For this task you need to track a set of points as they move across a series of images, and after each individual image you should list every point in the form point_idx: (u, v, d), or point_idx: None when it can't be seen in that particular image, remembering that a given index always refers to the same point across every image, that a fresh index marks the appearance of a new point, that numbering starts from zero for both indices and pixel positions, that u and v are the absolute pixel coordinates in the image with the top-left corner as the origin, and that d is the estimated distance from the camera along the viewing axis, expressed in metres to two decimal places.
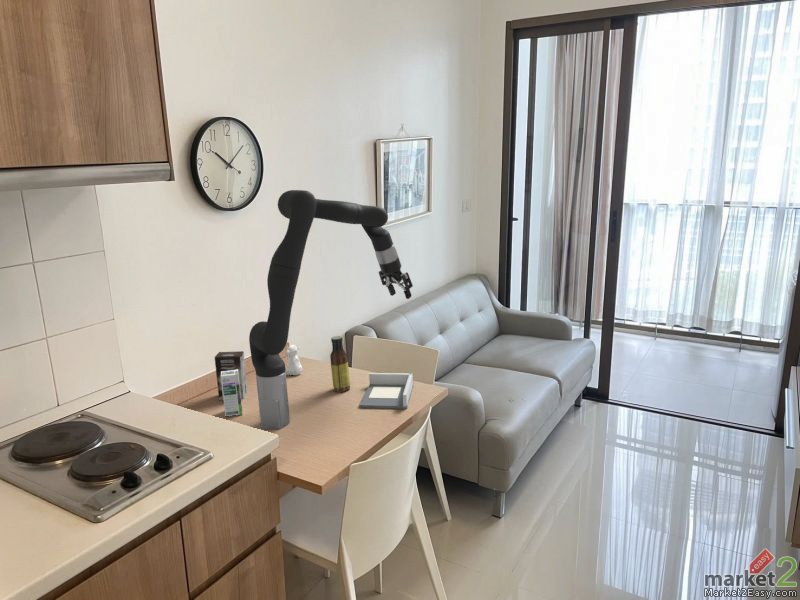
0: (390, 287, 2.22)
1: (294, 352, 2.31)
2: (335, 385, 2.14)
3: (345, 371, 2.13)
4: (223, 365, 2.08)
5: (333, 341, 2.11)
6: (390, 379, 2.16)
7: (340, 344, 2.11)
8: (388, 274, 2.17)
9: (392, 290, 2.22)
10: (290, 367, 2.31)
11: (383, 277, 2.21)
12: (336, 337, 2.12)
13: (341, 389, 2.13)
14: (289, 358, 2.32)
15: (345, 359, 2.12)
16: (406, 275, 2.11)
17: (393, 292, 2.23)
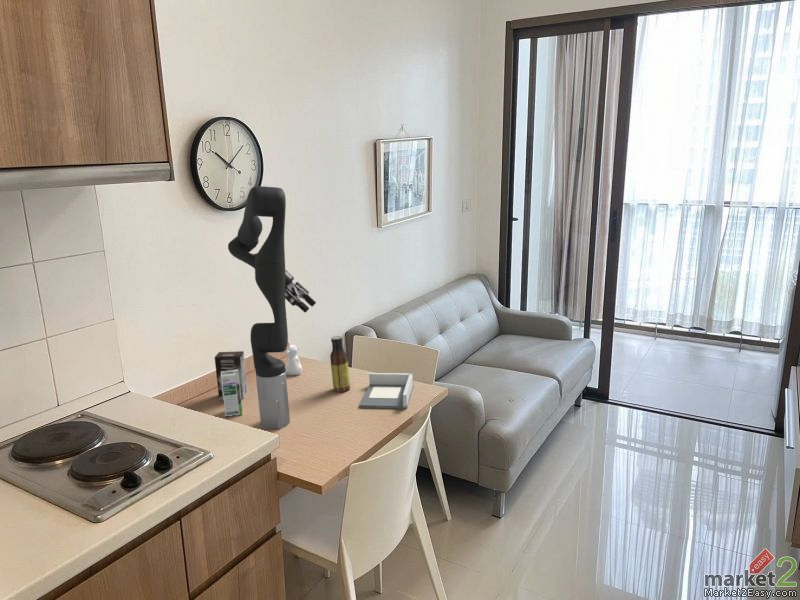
0: None
1: (294, 352, 2.31)
2: (335, 385, 2.14)
3: (345, 371, 2.13)
4: (223, 365, 2.08)
5: (333, 341, 2.11)
6: (390, 379, 2.16)
7: (340, 344, 2.11)
8: (291, 287, 2.09)
9: None
10: (290, 367, 2.31)
11: None
12: (336, 337, 2.12)
13: (341, 389, 2.13)
14: (289, 358, 2.32)
15: (345, 359, 2.12)
16: None
17: None
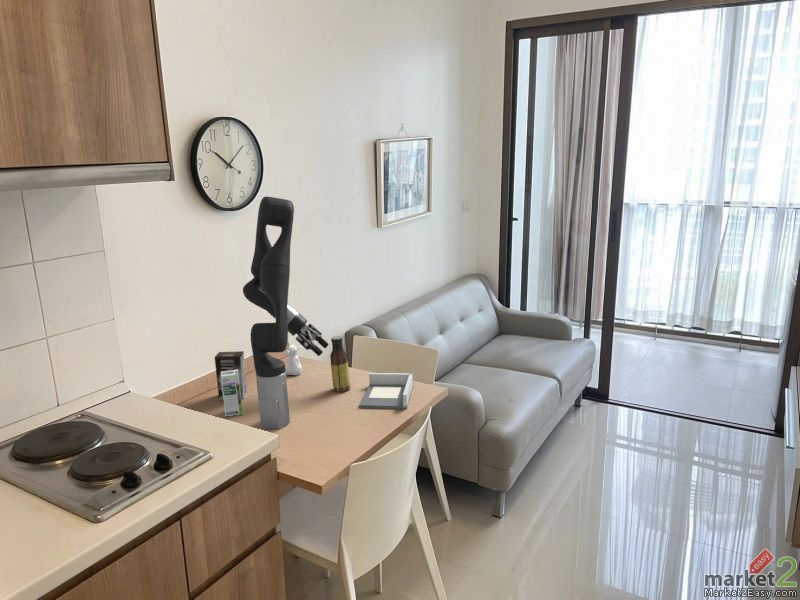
0: None
1: (294, 352, 2.31)
2: (335, 385, 2.14)
3: (345, 371, 2.13)
4: (223, 365, 2.08)
5: (333, 341, 2.11)
6: (390, 379, 2.16)
7: (340, 344, 2.11)
8: (304, 331, 2.12)
9: None
10: (290, 367, 2.31)
11: None
12: (336, 337, 2.12)
13: (341, 389, 2.13)
14: (289, 358, 2.32)
15: (345, 359, 2.12)
16: None
17: None
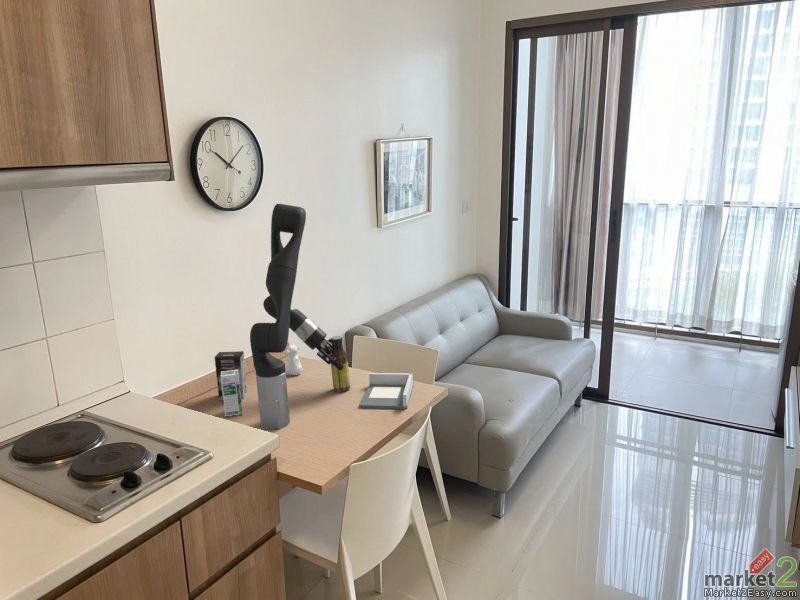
0: None
1: (294, 352, 2.31)
2: (335, 385, 2.14)
3: (345, 371, 2.13)
4: (223, 365, 2.08)
5: (333, 341, 2.11)
6: (390, 379, 2.16)
7: (340, 344, 2.11)
8: (324, 345, 2.12)
9: None
10: (290, 367, 2.31)
11: None
12: (336, 337, 2.12)
13: (341, 389, 2.13)
14: (289, 358, 2.32)
15: (345, 359, 2.12)
16: None
17: None
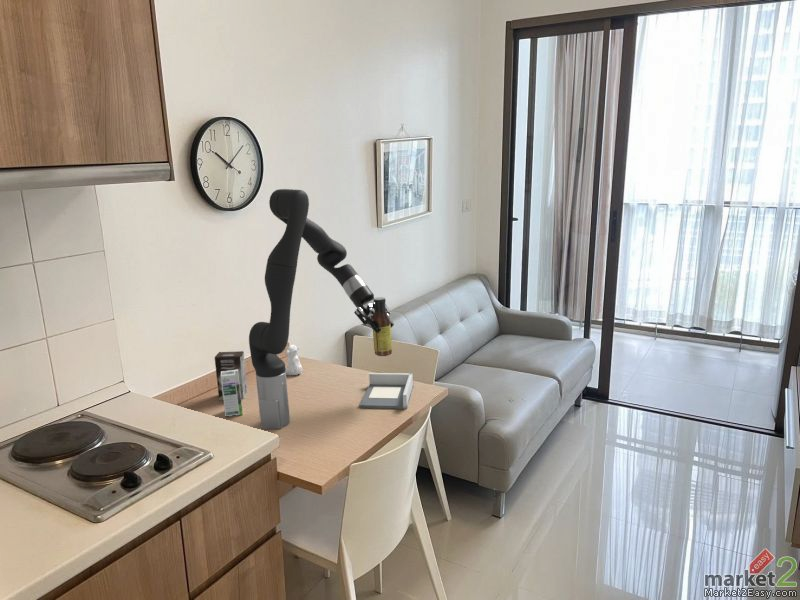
0: None
1: (294, 352, 2.31)
2: (374, 348, 2.04)
3: (384, 335, 2.01)
4: (223, 365, 2.08)
5: (374, 301, 2.01)
6: (390, 379, 2.16)
7: (381, 306, 2.00)
8: (367, 304, 2.04)
9: None
10: (290, 367, 2.31)
11: None
12: (379, 298, 2.02)
13: (379, 353, 2.03)
14: (289, 358, 2.32)
15: (385, 322, 2.01)
16: None
17: None
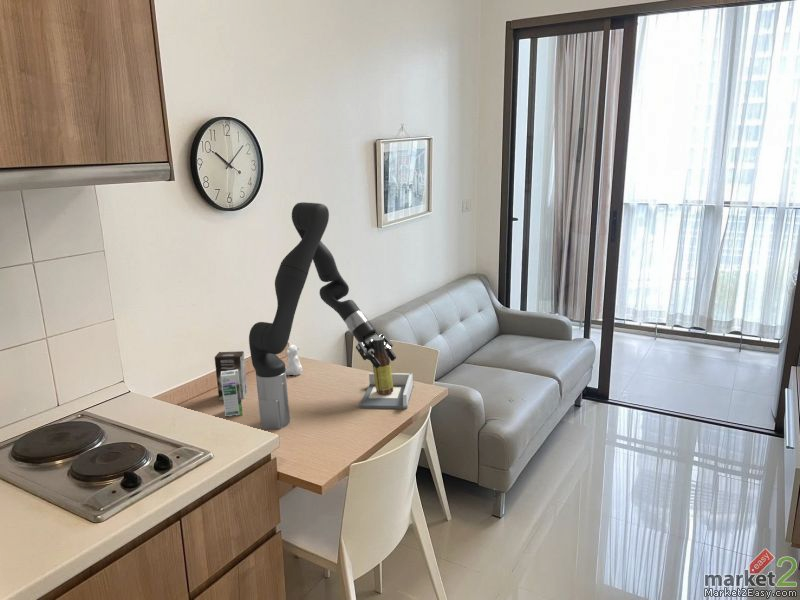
0: None
1: (294, 352, 2.31)
2: (376, 387, 2.08)
3: (384, 374, 2.05)
4: (223, 365, 2.08)
5: (373, 342, 2.04)
6: None
7: (380, 346, 2.03)
8: (369, 340, 2.07)
9: None
10: (290, 367, 2.31)
11: None
12: (378, 338, 2.05)
13: (380, 392, 2.06)
14: (289, 358, 2.32)
15: (384, 362, 2.04)
16: None
17: None
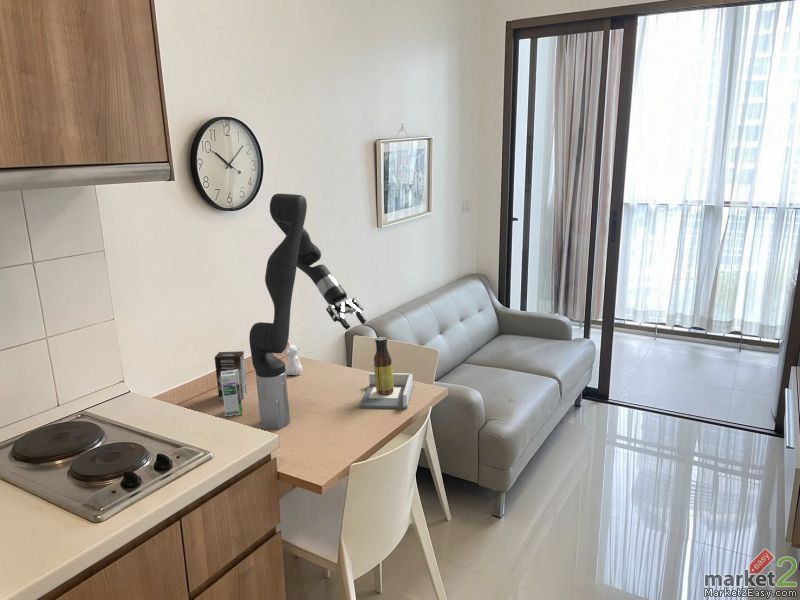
0: None
1: (294, 352, 2.31)
2: (376, 386, 2.08)
3: (385, 374, 2.05)
4: (223, 365, 2.08)
5: (376, 341, 2.04)
6: None
7: (382, 346, 2.04)
8: (339, 303, 2.12)
9: None
10: (290, 367, 2.31)
11: None
12: (380, 338, 2.05)
13: (380, 392, 2.06)
14: (289, 358, 2.32)
15: (386, 362, 2.04)
16: None
17: None
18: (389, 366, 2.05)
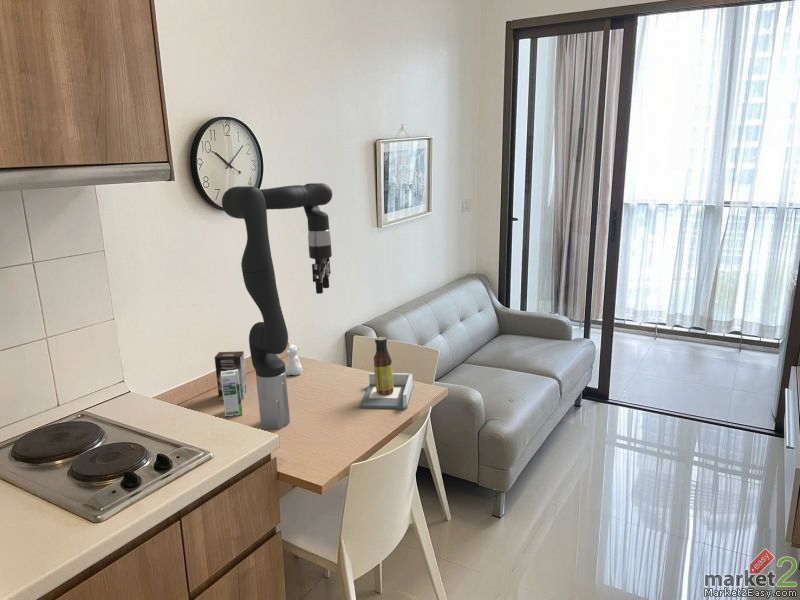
0: None
1: (294, 352, 2.31)
2: (376, 387, 2.08)
3: (385, 374, 2.05)
4: (223, 365, 2.08)
5: (375, 341, 2.04)
6: None
7: (382, 346, 2.04)
8: (323, 263, 2.00)
9: None
10: (290, 367, 2.31)
11: None
12: (380, 338, 2.05)
13: (380, 392, 2.06)
14: (289, 358, 2.32)
15: (386, 362, 2.04)
16: None
17: None
18: (389, 366, 2.05)
